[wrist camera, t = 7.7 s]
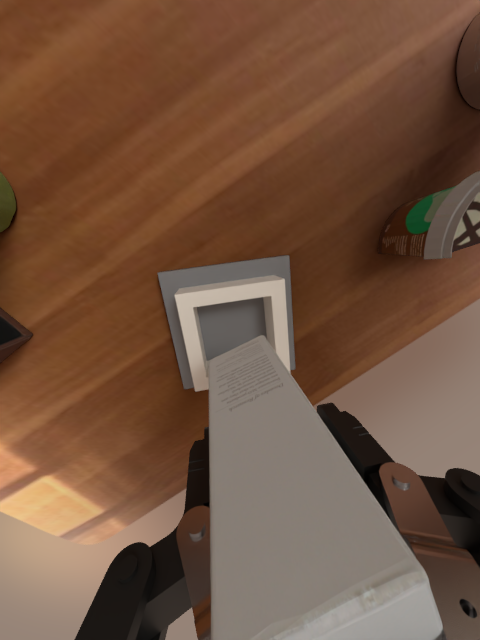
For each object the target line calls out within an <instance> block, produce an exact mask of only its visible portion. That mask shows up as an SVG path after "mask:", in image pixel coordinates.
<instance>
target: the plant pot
mask: <svg viewBox="0 0 480 640" xmlns="http://www.w3.org/2000/svg"><path fill="white" fill-rule="evenodd" d="M15 211H16V200H15V196H14V193H13V190H12V188H11V186H10V184H9V183H8V181H7V179H6V178H5V177H4V176H3V174H2V173H1V172H0V232H2V231H4V230H5V229H6V228H8V227H9V225H10V222H11V220H12V218H13V215H14V213H15Z"/></svg>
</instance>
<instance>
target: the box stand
mask: <svg viewBox="0 0 480 640" xmlns="http://www.w3.org/2000/svg"><path fill="white" fill-rule="evenodd" d="M158 278H159V282H160V286H161V291H162V295H163V299H164V304H165V308H166V312H167V317H168V321H169V325H170V330H171V334H172V338H173V343H174V347H175V351H176V356H177V360H178V364H179V369H180V373H181V377H182V382H183V386H184V389H190V388H195V392H196V391H202V390H207V389H209V372H208V363H209V360H211V359H213V358H215V357H217V356H219V355H221V354H224V353H226V352H228V351H230V350H232V349H234V348H236V347H238V346H240V345H242V344H244V343H246V342H248V341H250V340H252V339H254V338H256V337H258V336H260V335H264V336H265V337H266V339H267V341H268V342H269V343H270V345H271V346H272V348H273V349H274V351H275V352H276V353H277V355H278V356H279V358H280V359H281V361H282V362H283V364H284V365H285V367H286V368H287V370H288V371H289V372H290V370H294V369H295V354H294V335H293V317H292V298H291V279H290V260H289V255H282V256H275V257H267V258H260V259H252V260H245V261H238V262H230V263H223V264H215V265H208V266H200V267H193V268H185V269H178V270H170V271H163V272H159V273H158Z"/></svg>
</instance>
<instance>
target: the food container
mask: <svg viewBox="0 0 480 640" xmlns="http://www.w3.org/2000/svg"><path fill="white" fill-rule="evenodd" d="M478 243H480V171H478V172H475V173H474V174H472V175H470V176H469V177H467V178H466V179H464V180H463V181H462V182H461V183H460V184H458V185H457V186H454V187H451V188H448V189H445V190H442V191H439V192H436V193H433V194H431V195H428V196H425V197H422V198H419V199H416V200H413V201H410V202H407V203H405V204H403V205H402V206H400V207H399V208H397V209H396V210H395V211H394V212H393V213H392V214H391V215H390V217H389V218H388V220H387V221H386V223H385V225H384V227H383V229H382V232H381V235H380V239H379V247H378V248H379V254H393V255H408V256H423V257H424V259H441V258H451V257H452V252H454V251H457V250H460V249H463V248H466V247H469V246H472V245H475V244H478Z"/></svg>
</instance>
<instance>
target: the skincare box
mask: <svg viewBox="0 0 480 640" xmlns="http://www.w3.org/2000/svg"><path fill="white" fill-rule="evenodd" d="M208 372H209V471H210V479H209V485H210V557H211V560H210V579H211V640H442V631H443V625H442V621H441V618H440V615H439V612H438V609H437V606H436V603H435V600H434V597H433V594H432V591H431V588H430V584H429V579H428V576H427V574H426V572H425V570H424V568H423V567H422V566H421V564H420V563H419V561H418V560H417V559H416V557H415V556H414V554H413V553H412V551H411V550H410V548H409V547H408V545H407V544H406V542H405V541H404V540H403V538H402V537H401V535H400V534H399V532H398V531H397V529H396V528H395V526H394V525H393V523H392V522H391V520H390V519H389V517H388V516H387V514H386V513H385V511H384V510H383V509H382V507H381V506H380V504H379V503H378V501H377V500H376V498H375V497H374V495H373V494H372V493H371V491H370V490H369V488H368V487H367V485H366V484H365V482H364V481H363V479H362V478H361V476H360V475H359V473H358V472H357V471H356V469H355V468H354V466H353V465H352V463H351V462H350V460H349V459H348V457H347V456H346V454H345V453H344V452H343V450H342V449H341V447H340V446H339V444H338V443H337V441H336V440H335V438H334V437H333V435H332V434H331V432H330V431H329V429H328V428H327V426H326V425H325V424H324V422H323V421H322V419H321V418H320V416H319V415H318V413H317V412H316V410H315V409H314V408H313V406H312V405H311V403H310V402H309V400H308V399H307V397H306V396H305V394H304V393H303V391H302V390H301V388H300V387H299V385H298V384H297V383H296V381H295V380H294V378H293V377H292V375H291V374H290V372H289V371H288V370H287V368H286V367H285V365H284V364H283V362H282V361H281V359H280V358H279V356H278V355H277V353H276V352H275V351H274V349H273V348H272V346H271V345H270V343H269V342H268V341H267V339H266V337H265V336H264V335H260V336H258V337H256V338H254V339H252V340H250V341H248V342H246V343H244V344H242V345H240V346H238V347H236V348H234V349H232V350H230V351H228V352H226V353H224V354H221V355H219V356H217V357H215V358H213V359H211V360H209V363H208Z"/></svg>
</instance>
